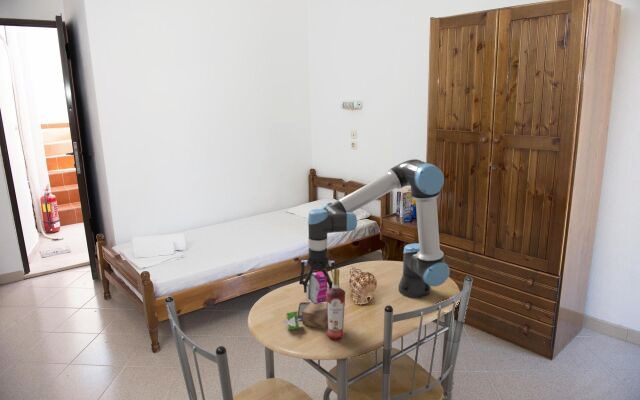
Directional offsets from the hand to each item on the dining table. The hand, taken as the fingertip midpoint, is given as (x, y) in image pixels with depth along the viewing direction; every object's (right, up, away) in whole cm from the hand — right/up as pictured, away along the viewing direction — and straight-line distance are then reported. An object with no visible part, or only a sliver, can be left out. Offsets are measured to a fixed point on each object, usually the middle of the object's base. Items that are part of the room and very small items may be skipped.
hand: (318, 299), depth 191 cm
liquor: (+7, -13, -9) cm, 17 cm away
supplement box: (0, 0, 0) cm, 0 cm away
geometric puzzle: (-10, -11, -3) cm, 15 cm away
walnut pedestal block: (0, -10, +3) cm, 10 cm away
